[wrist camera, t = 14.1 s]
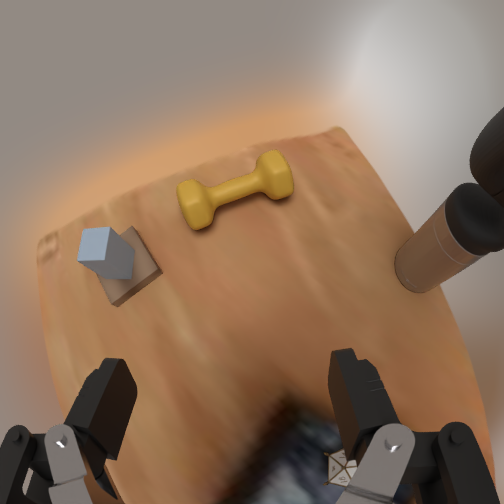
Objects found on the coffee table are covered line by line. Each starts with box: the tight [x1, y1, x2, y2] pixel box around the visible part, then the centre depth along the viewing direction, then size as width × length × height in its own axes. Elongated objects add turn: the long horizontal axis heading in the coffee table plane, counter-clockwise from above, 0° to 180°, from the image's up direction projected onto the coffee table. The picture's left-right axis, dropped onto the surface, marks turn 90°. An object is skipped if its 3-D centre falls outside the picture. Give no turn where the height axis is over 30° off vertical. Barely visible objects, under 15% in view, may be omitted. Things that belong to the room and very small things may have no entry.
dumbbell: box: [176, 150, 294, 230], centre depth 47 cm, size 19×9×8 cm, turn 111°
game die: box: [323, 448, 357, 487], centre depth 30 cm, size 9×8×10 cm
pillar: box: [77, 227, 135, 279], centre depth 41 cm, size 5×5×9 cm
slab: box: [96, 226, 163, 307], centre depth 46 cm, size 10×10×3 cm
